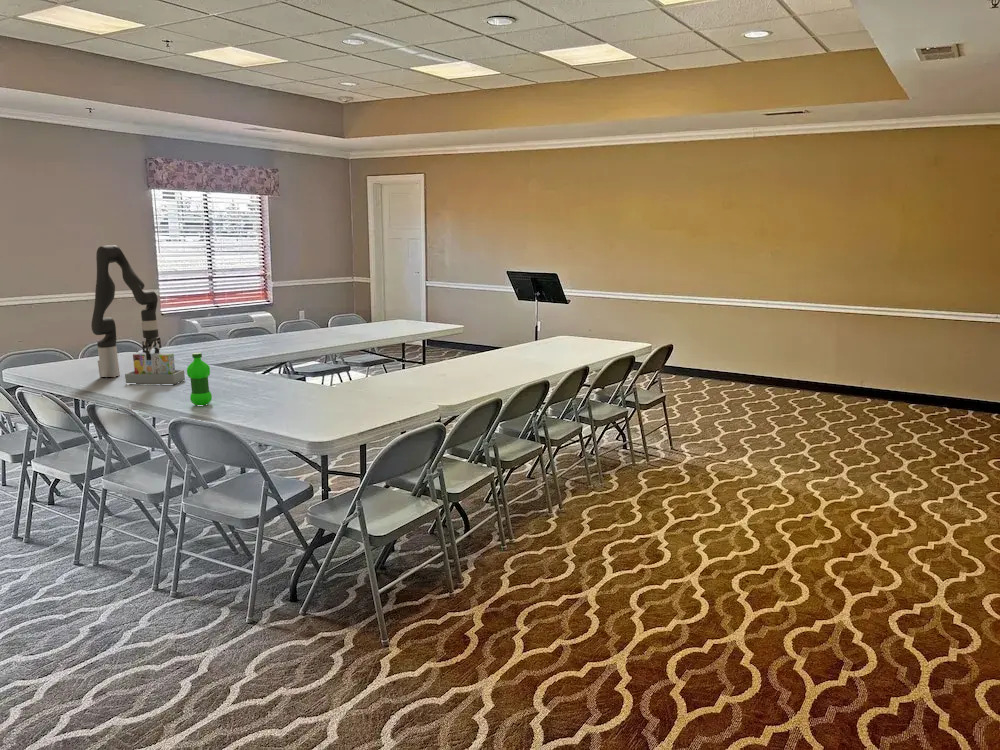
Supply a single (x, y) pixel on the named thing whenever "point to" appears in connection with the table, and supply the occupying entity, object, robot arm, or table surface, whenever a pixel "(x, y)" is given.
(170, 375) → the bin
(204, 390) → the plastic bottle
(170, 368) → the snack box
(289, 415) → the table surface
